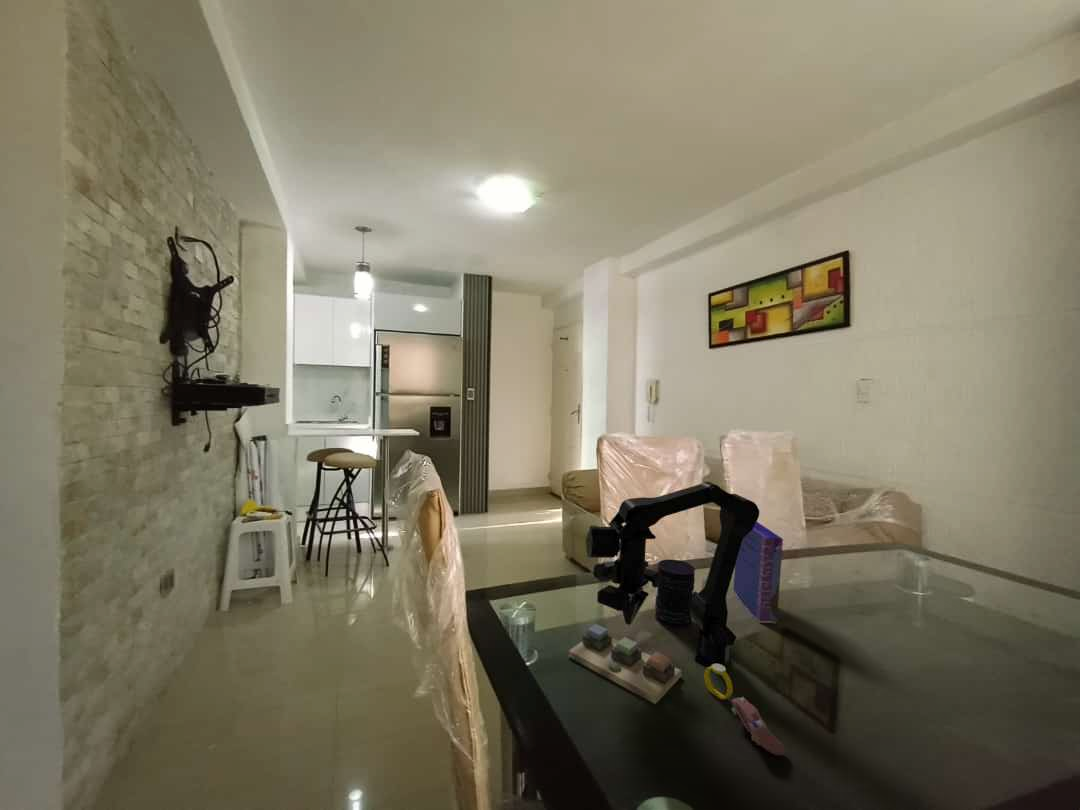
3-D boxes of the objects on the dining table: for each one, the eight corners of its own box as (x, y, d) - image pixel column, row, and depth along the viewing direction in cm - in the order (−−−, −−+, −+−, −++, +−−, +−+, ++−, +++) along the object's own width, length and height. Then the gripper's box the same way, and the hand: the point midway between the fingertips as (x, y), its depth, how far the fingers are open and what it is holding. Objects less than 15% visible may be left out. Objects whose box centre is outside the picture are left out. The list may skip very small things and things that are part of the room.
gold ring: (701, 690, 96) (701, 661, 96) (710, 685, 98) (710, 658, 98) (726, 705, 91) (726, 676, 91) (734, 701, 93) (734, 671, 93)
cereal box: (776, 623, 125) (783, 538, 123) (759, 623, 125) (765, 537, 123) (748, 594, 142) (753, 518, 141) (733, 593, 142) (738, 518, 141)
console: (680, 676, 100) (681, 661, 100) (655, 704, 91) (656, 687, 91) (597, 636, 114) (598, 623, 114) (568, 656, 105) (569, 642, 105)
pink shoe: (736, 724, 89) (723, 694, 88) (757, 714, 89) (744, 683, 88) (766, 767, 79) (751, 733, 78) (789, 755, 79) (774, 721, 78)
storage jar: (696, 617, 126) (699, 565, 125) (686, 633, 118) (690, 577, 117) (660, 607, 131) (663, 556, 130) (649, 621, 123) (652, 567, 122)
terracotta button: (669, 667, 98) (670, 658, 98) (662, 674, 96) (663, 665, 96) (655, 660, 101) (655, 651, 100) (648, 667, 98) (648, 658, 98)
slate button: (607, 637, 109) (607, 629, 109) (599, 643, 106) (599, 634, 106) (595, 631, 111) (595, 623, 111) (587, 637, 109) (587, 629, 108)
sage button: (636, 651, 104) (637, 643, 104) (629, 657, 101) (629, 649, 101) (624, 645, 106) (624, 637, 106) (616, 651, 103) (616, 642, 103)
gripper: (622, 537, 115) (619, 597, 116) (578, 557, 101) (575, 625, 102) (663, 549, 107) (659, 614, 108) (622, 572, 93) (618, 646, 94)
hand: (628, 623), depth 103 cm, fingers closed
